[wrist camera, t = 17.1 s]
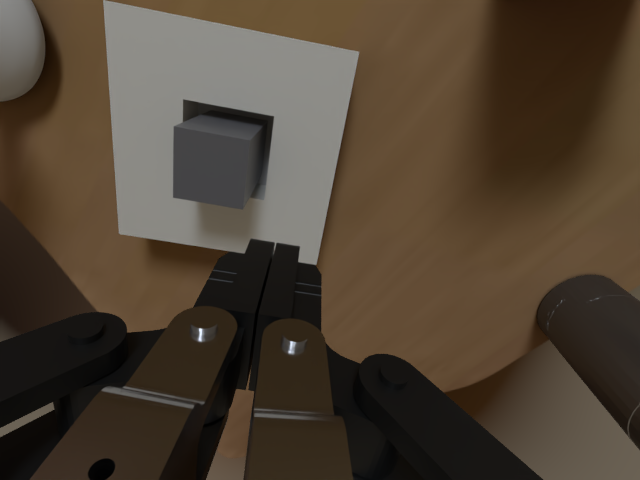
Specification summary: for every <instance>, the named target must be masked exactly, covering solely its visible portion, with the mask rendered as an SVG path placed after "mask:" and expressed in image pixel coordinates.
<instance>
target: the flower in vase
mask: <svg viewBox="0 0 640 480" xmlns="http://www.w3.org/2000/svg"><path fill="white" fill-rule="evenodd" d="M44 59H45V36H44V32H43V27H42V24H41V21H40V18H39V15H38V13H37V11H36V8H35V6H34V4H33V2H32V1H31V0H0V101H8V100H13V99H15V98H18V97H20V96H22V95H24V94H25V93H27V92H28V91H29V90H30V89H31V88H32V87H33V86H34V85H35V83H36V82H37V80H38V78H39V76H40V75H41V72H42V69H43V65H44Z"/></svg>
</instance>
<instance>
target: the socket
mask: <svg viewBox="0 0 640 480" xmlns="http://www.w3.org/2000/svg"><path fill="white" fill-rule="evenodd" d="M103 3H104V18H105V32H106V47H107V62H108V77H109V92H110V107H111V122H112V137H113V151H114V166H115V181H116V196H117V211H118V226H119V234H123V235H130V236H136V237H142V238H148V239H155V240H161V241H167V242H174V243H180V244H186V245H192V246H199V247H205V248H211V249H218V250H224V251H231V252H238V253H244V254H245V251H246V249H247V246H248V244H249V241H250V239H251V238H252V239H258V240H264V241H270V242H275V246H274V251H275V247H276V243H283V244H289V245H295V246H300V251H299V259H298V262H301V263H307V264H314V265H316V264H317V260H318V255H319V250H320V245H321V240H322V235H323V230H324V225H325V220H326V215H327V210H328V205H329V200H330V195H331V190H332V185H333V180H334V175H335V170H336V165H337V160H338V155H339V150H340V145H341V140H342V135H343V130H344V125H345V120H346V115H347V110H348V105H349V101H350V96H351V91H352V86H353V81H354V76H355V71H356V66H357V61H358V56H359V52H357V51H352V50H347V49H342V48H337V47H332V46H327V45H323V44H318V43H313V42H308V41H303V40H298V39H293V38H288V37H283V36H278V35H273V34H268V33H263V32H258V31H253V30H249V29H244V28H239V27H234V26H229V25H224V24H219V23H214V22H209V21H204V20H199V19H194V18H189V17H184V16H179V15H175V14H170V13H165V12H160V11H155V10H150V9H145V8H140V7H135V6H130V5H125V4H120V3H115V2H110V1H106V0H103ZM210 110H214V111H219V112H224V113H230V114H235V115H240V116H245V117H251V118H256V119H261V120H266V121H268V125H267V134H266V143H265V151H264V160H263V168H262V175H261V177H260V179H259V181H258V183H257V185H256V187H255V188H254V190H253V192H252V194H251V196H250V198H249V200H248V201H247V203H246V205H245V207H244V209H243V210H242V209H236V208H230V207H224V206H219V205H213V204H207V203H201V202H195V201H189V200H184V199H178V198H173V136H174V126H175V125H178V124H180V123H182V122H185V121H187V120H189V119H192V118H194V117H196V116H199V115H201V114H203V113H205V112H208V111H210ZM273 255H274V254H273Z"/></svg>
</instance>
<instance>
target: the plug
mask: <svg viewBox="0 0 640 480" xmlns="http://www.w3.org/2000/svg"><path fill="white" fill-rule="evenodd" d="M267 125H268V121H266V120H261V119H256V118H251V117H245V116H240V115H235V114H230V113H224V112H219V111H214V110H210V111H208V112H205V113H203V114H201V115H199V116H196V117H194V118H192V119H189V120H187V121H185V122H182V123H180V124H178V125H175V126H174V136H173V198H178V199H184V200H189V201H195V202H201V203H207V204H213V205H219V206H224V207H230V208H236V209H242V210H243V209H244V207H245V205H246V203H247V201H248V200H249V198H250V196H251V194H252V192H253V190H254V188H255V187H256V185H257V183H258V181H259V179H260V177H261V175H262V168H263V160H264V151H265V143H266V134H267Z"/></svg>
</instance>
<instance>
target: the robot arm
mask: <svg viewBox="0 0 640 480" xmlns="http://www.w3.org/2000/svg"><path fill="white" fill-rule="evenodd" d="M274 246H275V242H270V241H264V240H258V239H252V238H251V239H250V241H249V244H248V246H247V249H246V251H245V254H244V253H238V252H231V251H230V252H229V253H227V254H225V255H224V256H222V257H221V258H219V259H218V261H217V263H216V265H215V267H214V269H213V271H212V273H211V274H210V276H209V279H208V280H207V282H206V284H205V286H204V288H203V290H202V291H201V293H200V295H199V297H198V299H197V301H196V303H195V305H194V307H193V308H190V309H187V310H184V311H182V312H181V313H179V314H178V315H176V316H175V317H174V318H173V320H172V321H171V322H170V324H169V325H168V327H167V328H165V329H160V330H154V331H143V332H131V333H127V327H126V324H125V323H124V321H123V320H122V319H121V318H119V317H117V316H115V315H112V314H109V313H102V312H91V313H83V314H79V315H75V316H72V317H69V318H66V319H63V320H61V321H58V322H55V323H52V324H49V325H47V326H44V327H41V328H38V329H36V330H33V331H30V332H27V333H24V334H21V335H19V336H16V337H13V338H10V339H8V340H5V341H2V342H0V428H1V427H3V426H5V425H7V424H9V423H11V422H13V421H15V420H17V419H19V418H21V417H23V416H25V415H27V414H29V413H31V412H33V411H35V410H37V409H39V408H41V407H43V406H45V405H47V404H49V403H51V402H53V404H54V409H55V410H53V411H51V412H49V413H47V414H45V415H43V416H41V417H39V418H37V419H35V420H33V421H31V422H29V423H27V424H25V425H24V426H21V427H20V428H18V429H16V430H14V431H12V432H10V433H8V434H6V435H4V436H2V437H0V480H206V478H207V475H208V472H209V470H210V467H211V464H212V461H213V458H214V456H215V453H216V450H217V447H218V444H219V442H220V439H221V436H222V433H223V430H224V428H225V425H226V422H227V419H228V414H229V408H230V407H231V404H232V402H233V398H234V394H235V390H236V389H242V390H246V386H247V382H248V378H249V373H250V369H251V374H250V382H249V389H248V390H251V391H254V399H253V406H252V413H251V420H250V428H249V436H248V445H247V454H246V463H245V471H244V480H543V479H542V478H541V477H539V476H538V475H537V474H536V473H535V472H534V471H532V470H531V469H530V468H529V467H528V466H527V465H526V464H525V463H523V462H522V461H521V460H520V459H519V458H518V457H516V456H515V455H514V454H513V453H512V452H511V451H510V450H508V449H507V448H506V447H505V446H504V445H503V444H502V443H500V442H499V441H498V440H497V439H496V438H495V437H494V436H493V435H491V434H490V433H489V432H488V431H487V430H486V429H485V428H483V427H482V426H481V425H480V424H479V423H478V422H476V421H475V420H474V419H473V418H472V417H471V416H470V415H468V414H467V413H466V412H465V411H464V410H463V409H462V408H460V407H459V406H458V405H457V404H456V403H455V402H454V401H452V400H451V399H450V398H449V397H448V396H447V395H446V394H444V393H443V392H442V391H441V390H440V389H439V388H438V387H436V386H435V385H434V384H433V383H432V382H431V381H430V380H428V379H427V378H426V377H425V376H424V375H423V374H422V373H420V372H419V371H418V370H417V369H416V368H415V367H413V366H412V365H411V364H410V363H408V362H406V361H405V360H403V359H401V358H399V357H396V356H393V355H388V354H375V355H371V356H369V357H367V358H365V359H364V360H363V361H362V363H361V364H360V363H357V362H355V361H352V360H350V359H347V358H345V357H343V356H341V355H339V354H337V353H336V352H335V351H333V350H332V349H331V348H330V347H329V346H328V345H327V344H326V342H325V338H324V336H323V334H322V333H321V273H320V272H319V270H318V269H317V267H316V266H315V265H314V264H307V263H301V262H298V259H299V251H300V246H295V245H289V244H283V243H276V247H275V251H274ZM273 254H274V255H273ZM537 319H538V324H539V326H540V328H541V330H542V331H543V332H544V333H545V335H546V336H547V337H548V338H549V339H550V341H551V342H552V343H553V344H554V346H555V347H556V348H557V349H558V351H559V352H560V353H561V354H562V356H563V357H564V358H565V359H566V361H567V362H568V363H569V364H570V365H571V367H572V368H573V369H574V371H575V372H576V373H577V374H578V375H579V377H580V378H581V379H582V380H583V382H584V383H585V384H586V385H587V386H588V388H589V389H590V390H591V391H592V393H593V394H594V395H595V396H596V397H597V399H598V400H599V401H600V402H601V404H602V405H603V406H604V407H605V408H606V410H607V411H608V412H609V413H610V414H611V416H612V417H613V418H614V420H615V421H616V422H617V423H618V424H619V426H620V427H621V428H622V429H623V430H624V432H625V433H626V434H627V435H628V437H629V438H630V439H631V440H632V442H633V443H634V444H635V445H636V446H637V448H638V449H639V450H640V301H639V300H638V299H636V298H635V297H634V296H632V295H631V294H630V293H628V292H627V291H626V290H624V289H623V288H621V287H620V286H619V285H617V284H616V283H615V282H614V281H612V280H611V279H609V278H606V277H604V276H599V275H583V276H578V277H575V278H572V279H569V280H567V281H565V282H563V283H561V284H559V285H558V286H556V287H555V288H554V289H552V290H551V291H550V292H549V293H548V294H547V295H546V297H545V298H544V299H543V301H542V302H541V304H540V307H539V309H538V315H537ZM251 365H252V366H251Z"/></svg>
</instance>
